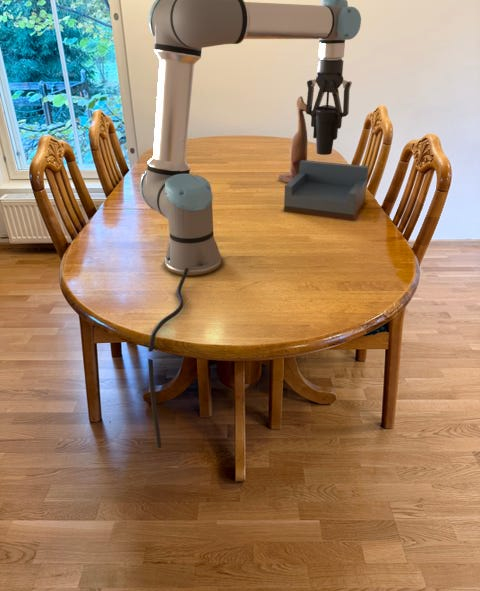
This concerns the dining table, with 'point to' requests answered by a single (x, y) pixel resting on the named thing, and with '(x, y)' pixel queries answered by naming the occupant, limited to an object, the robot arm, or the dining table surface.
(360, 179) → the sofa
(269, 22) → the robot arm
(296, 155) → the bird sculpture
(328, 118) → the drinking cup
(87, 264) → the dining table surface
